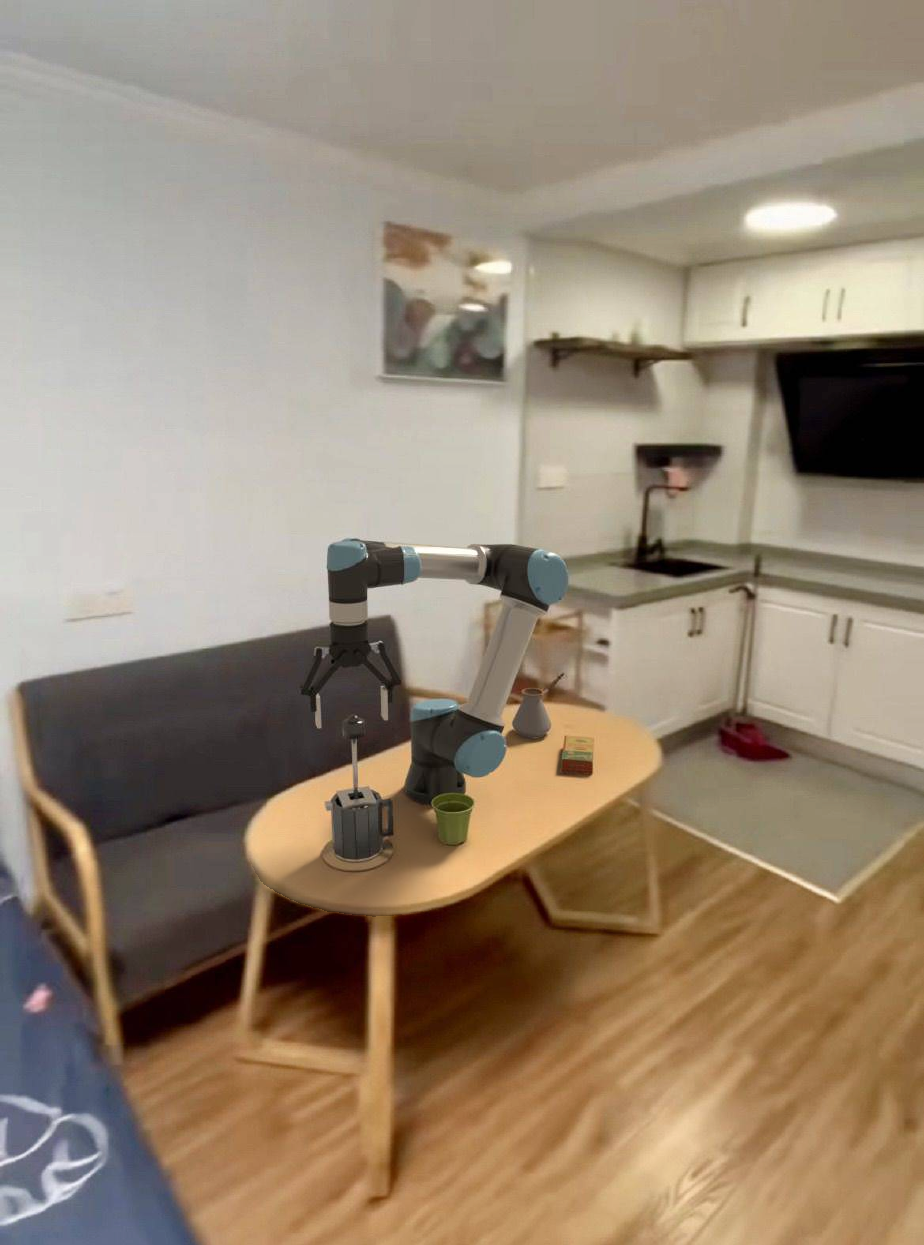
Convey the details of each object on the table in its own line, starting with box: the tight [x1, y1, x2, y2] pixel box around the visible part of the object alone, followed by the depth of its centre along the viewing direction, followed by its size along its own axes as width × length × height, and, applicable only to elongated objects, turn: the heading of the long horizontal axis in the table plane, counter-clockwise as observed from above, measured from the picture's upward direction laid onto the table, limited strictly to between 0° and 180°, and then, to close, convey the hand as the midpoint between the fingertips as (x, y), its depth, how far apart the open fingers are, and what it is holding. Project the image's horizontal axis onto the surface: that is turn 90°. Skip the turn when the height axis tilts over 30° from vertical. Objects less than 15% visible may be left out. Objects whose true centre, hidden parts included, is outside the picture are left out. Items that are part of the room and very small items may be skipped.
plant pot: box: [430, 793, 475, 846], centre depth 173 cm, size 9×9×9 cm
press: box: [321, 785, 395, 873], centre depth 167 cm, size 15×15×13 cm
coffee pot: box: [511, 672, 568, 739], centre depth 233 cm, size 21×12×15 cm, turn 136°
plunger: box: [340, 714, 371, 809], centre depth 164 cm, size 7×7×21 cm
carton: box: [560, 735, 595, 775], centre depth 213 cm, size 8×16×4 cm, turn 170°
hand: (352, 722), depth 161 cm, fingers open, 13 cm apart
